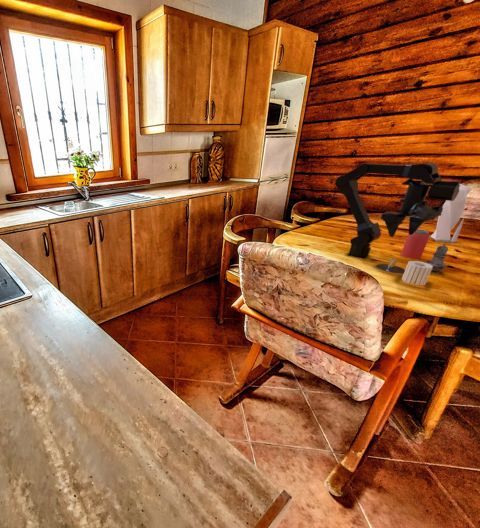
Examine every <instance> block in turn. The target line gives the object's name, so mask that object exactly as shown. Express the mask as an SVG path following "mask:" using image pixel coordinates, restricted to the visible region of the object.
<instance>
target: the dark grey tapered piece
mask: <svg viewBox="0 0 480 528" xmlns="http://www.w3.org/2000/svg"><path fill="white" fill-rule="evenodd" d="M448 250H449V247H448V246H446V243H443V244H442V245H439V246H437V247H436V249H435V252H434V253H432V254H433V255H432V258H431V259H430V260H426V261H425V262H424V263H428V264H430V265H432V266H433V268H432V270H431V272H430V274H431V273H432V274H441V273H442V272H441V271H443V270H444V269H445V268H446V267H447V266H448V265H447V264H446V263H444V261H445V258H446V257H447V253H448Z"/></svg>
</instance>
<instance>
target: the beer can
mask: <svg viewBox="0 0 480 528" xmlns="http://www.w3.org/2000/svg"><path fill="white" fill-rule="evenodd" d="M429 239H430V231H428V230H425V229H419V228H418V229H417V230H416V231H415V232H414V233H413V235H410V234H409V233H408V234H407V236H406V239H405V242H404V244H403V247H402V250H401V252H400V254H401V256H402V257H405V258H409V259H417V260H418V259H421V258H422V256H423V253H424V251H425V249H426V246H427V244H428V241H429Z"/></svg>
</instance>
